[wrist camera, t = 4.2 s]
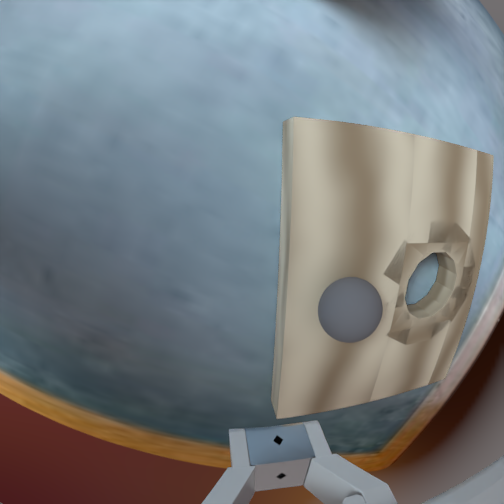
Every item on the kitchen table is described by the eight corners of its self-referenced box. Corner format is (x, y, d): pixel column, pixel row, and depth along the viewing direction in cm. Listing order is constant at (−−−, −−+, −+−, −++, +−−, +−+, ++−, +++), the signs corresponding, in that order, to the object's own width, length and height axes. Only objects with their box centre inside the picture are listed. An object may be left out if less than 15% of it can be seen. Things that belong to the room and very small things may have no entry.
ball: (306, 325, 20) (327, 360, 16) (311, 269, 19) (337, 295, 15) (359, 319, 20) (386, 349, 17) (368, 266, 19) (400, 289, 15)
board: (270, 399, 25) (276, 419, 22) (282, 122, 18) (293, 116, 16) (432, 366, 27) (444, 378, 25) (473, 153, 21) (493, 155, 18)
